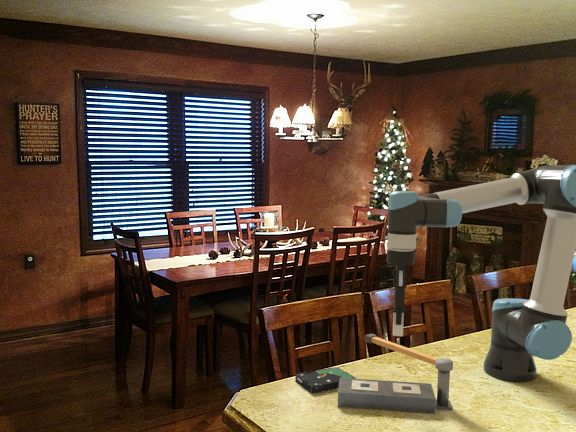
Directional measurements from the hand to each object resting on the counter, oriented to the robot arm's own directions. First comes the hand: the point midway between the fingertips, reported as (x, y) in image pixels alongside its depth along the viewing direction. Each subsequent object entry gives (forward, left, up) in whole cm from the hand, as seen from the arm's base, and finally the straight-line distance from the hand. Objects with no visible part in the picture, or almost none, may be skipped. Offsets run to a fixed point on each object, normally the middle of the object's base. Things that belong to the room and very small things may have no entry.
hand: (397, 335), depth 148 cm
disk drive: (+20, -7, -18) cm, 28 cm away
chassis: (+3, +3, -18) cm, 18 cm away
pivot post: (-12, +3, -18) cm, 22 cm away
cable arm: (-3, -6, -7) cm, 10 cm away
